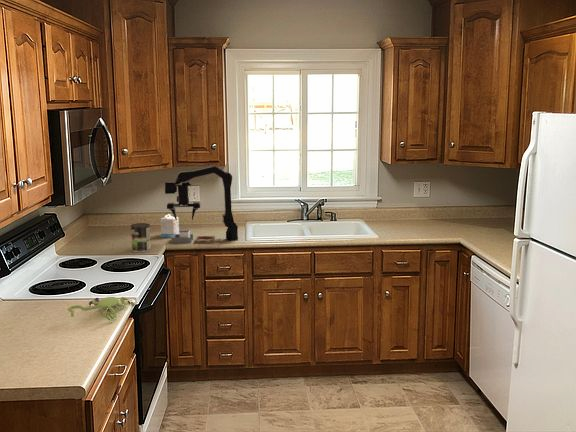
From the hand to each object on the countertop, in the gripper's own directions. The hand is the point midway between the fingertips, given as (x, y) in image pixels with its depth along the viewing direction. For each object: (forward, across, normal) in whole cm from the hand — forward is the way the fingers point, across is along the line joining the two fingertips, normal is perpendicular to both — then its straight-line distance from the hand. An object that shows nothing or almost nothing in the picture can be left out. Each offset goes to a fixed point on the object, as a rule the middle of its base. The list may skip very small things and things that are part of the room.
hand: (184, 220), depth 356 cm
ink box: (+13, +10, -14) cm, 21 cm away
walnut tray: (+13, -12, +2) cm, 17 cm away
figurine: (+13, +23, +120) cm, 123 cm away
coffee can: (+13, +22, +18) cm, 32 cm away
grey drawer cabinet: (+13, +1, +1) cm, 13 cm away
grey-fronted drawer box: (+12, 0, +1) cm, 12 cm away
